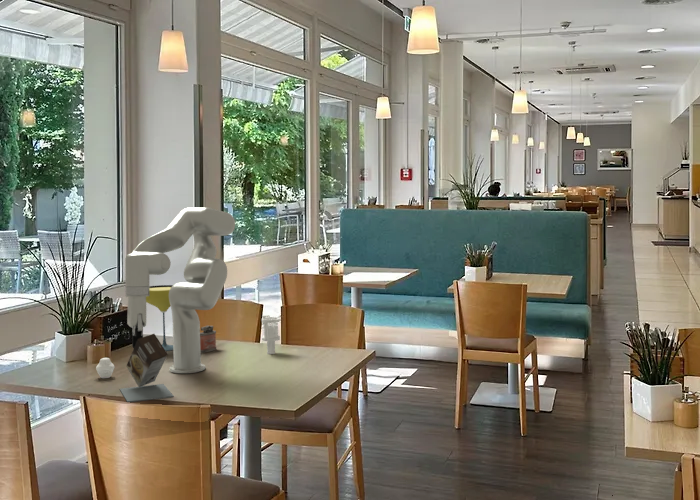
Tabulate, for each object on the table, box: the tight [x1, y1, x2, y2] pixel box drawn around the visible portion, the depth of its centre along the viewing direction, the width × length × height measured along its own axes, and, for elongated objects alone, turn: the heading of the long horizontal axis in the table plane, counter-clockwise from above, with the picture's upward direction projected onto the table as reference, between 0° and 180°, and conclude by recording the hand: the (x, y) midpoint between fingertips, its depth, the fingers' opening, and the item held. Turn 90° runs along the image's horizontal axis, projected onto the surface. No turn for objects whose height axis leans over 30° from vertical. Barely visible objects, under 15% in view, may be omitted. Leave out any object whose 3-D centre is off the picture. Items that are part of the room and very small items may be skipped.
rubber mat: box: [119, 383, 174, 403], centre depth 243 cm, size 16×14×1 cm
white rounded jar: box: [95, 357, 115, 379], centre depth 265 cm, size 6×6×7 cm
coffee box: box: [126, 333, 169, 387], centre depth 248 cm, size 9×6×16 cm
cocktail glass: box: [146, 284, 174, 352], centre depth 312 cm, size 18×18×25 cm
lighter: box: [200, 325, 217, 353], centre depth 308 cm, size 8×3×10 cm, turn 144°
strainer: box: [261, 314, 281, 355], centre depth 301 cm, size 7×7×15 cm
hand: (137, 347), depth 249 cm, fingers closed
